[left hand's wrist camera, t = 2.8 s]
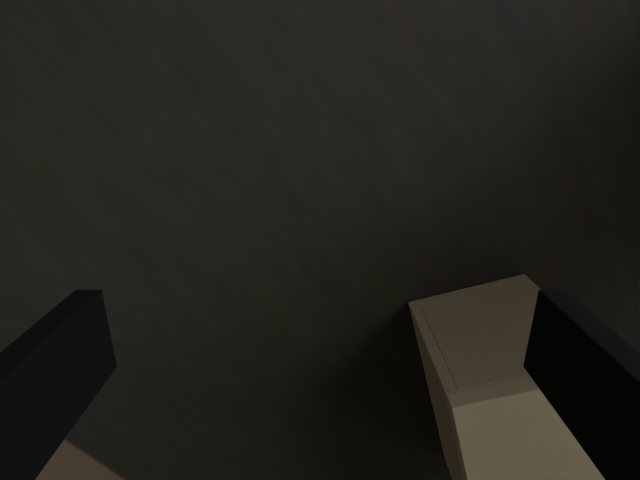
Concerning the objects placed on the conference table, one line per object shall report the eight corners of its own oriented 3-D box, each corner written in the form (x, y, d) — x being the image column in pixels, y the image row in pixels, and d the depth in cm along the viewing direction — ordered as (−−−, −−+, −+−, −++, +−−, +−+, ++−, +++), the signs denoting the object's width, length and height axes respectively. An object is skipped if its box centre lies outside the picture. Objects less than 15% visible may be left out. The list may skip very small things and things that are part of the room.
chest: (544, 436, 38) (623, 559, 28) (444, 456, 39) (486, 583, 29) (524, 273, 32) (614, 355, 22) (407, 301, 33) (445, 393, 23)
